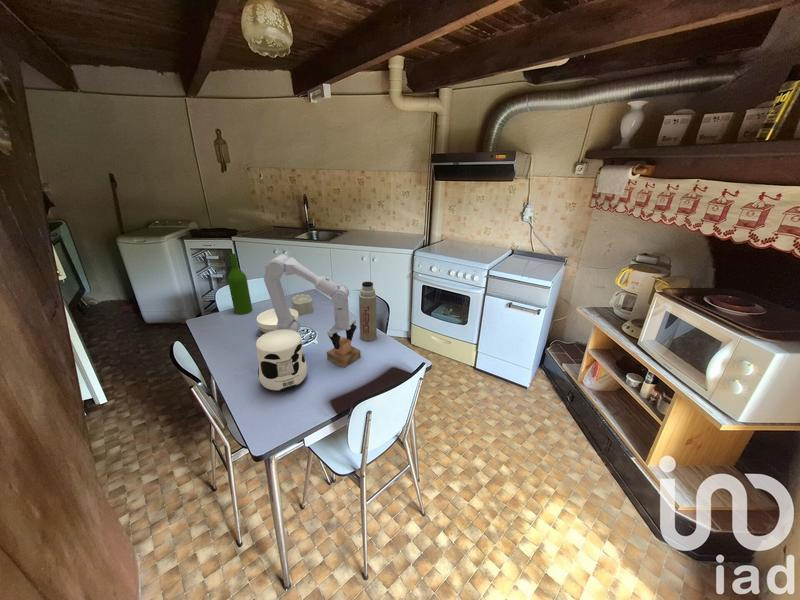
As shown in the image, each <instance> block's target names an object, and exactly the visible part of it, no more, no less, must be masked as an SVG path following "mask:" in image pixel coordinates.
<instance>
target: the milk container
mask: <svg viewBox="0 0 800 600" xmlns="http://www.w3.org/2000/svg"><path fill="white" fill-rule="evenodd" d="M300 334H301V333H299V331H298V332H296V331H293V330H287V329H282V330H275V331H271V332H268V333H266V334H265V333H264V334H262V335H260V337H258V339H257V340H256V342H255V344H256V355H257V360H258V369H257V375H258V379H259V381H260V384H261V385H262V386H263V387H264V389H267V390H270V391H277V392H278V391H279V392H280V391H287V390H289V389H294V388H295V387H297V386H299V385H300V384H301V383H302V382H303V381H304V380H305V378H306V377H307V375H308V364H307V361H306V358H305V355H304V356H303V353H304V351H303V350H304V348H303V347H304V346H303V341H302V337H301V335H300Z"/></svg>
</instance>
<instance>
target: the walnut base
mask: <svg viewBox="0 0 800 600" xmlns="http://www.w3.org/2000/svg"><path fill="white" fill-rule="evenodd" d="M326 359H327V360H328V361H330V362H331V363H334V364H336V365H337V366H339V367H341V368H342V369H344V368H347V367H348V366H349V365H352V364H353V363H354V362H356V361H357V360H359V359H361V349H359V348H356V347H355V346H352V345H351V351H350V352H348V353H347V354H345V355H344V356H343V355H340V354H338V353H336V352H334V347H333V348H331V349H329V350H328V351H326Z"/></svg>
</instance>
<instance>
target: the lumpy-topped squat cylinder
mask: <svg viewBox="0 0 800 600" xmlns="http://www.w3.org/2000/svg"><path fill="white" fill-rule="evenodd" d="M290 300H291V301H290V302H291V309H294V310H296V311H297V312H298V317H300V316H305V315H310V314H313V313H314V306H313V305H314V304H313V299H312V297H311V296H310V295H309V294H303V293H301V294H300V293H299V294H295V295H294V296H293V297H292V298H291V299H290Z"/></svg>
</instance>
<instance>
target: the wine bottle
mask: <svg viewBox="0 0 800 600" xmlns="http://www.w3.org/2000/svg"><path fill="white" fill-rule="evenodd" d="M237 258H238V257H237V253H230V254H229V259H230V266H231V270H230V271H229V273H228V276H227V282H228V287H229V292H230V297H231V301H232V306H233V311H234V314H236V315H238V316H240V315H243V316H244V315H247V314H251V312H252V311H253V305H252V300H251V295H250V288H249V284H248V283H249V282H248V279H247V278H248V277H247V275H246V274H245V273H244V271H242V270H241V269H240V268H239V263H238V259H237Z"/></svg>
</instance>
